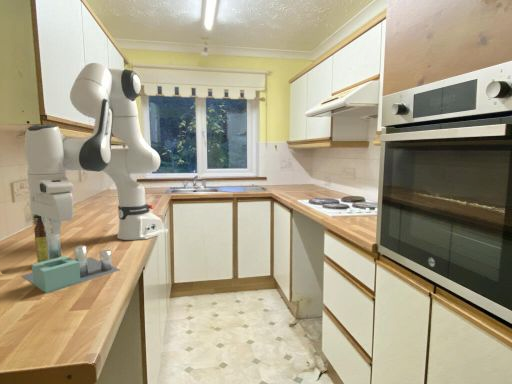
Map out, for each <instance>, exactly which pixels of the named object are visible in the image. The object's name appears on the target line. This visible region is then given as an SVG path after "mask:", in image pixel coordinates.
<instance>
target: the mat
mask: <svg viewBox="0 0 512 384" xmlns="http://www.w3.org/2000/svg"><path fill="white" fill-rule="evenodd" d="M87 263H88V276H86V277H82V278H81V282H79V283H76V284H73V285H70V286H66V287H63V288H60V289H57V290H54V291H51V292H48V293H47V294H49V293H53V292H56V291H59V290H63V289H66V288H69V287H71V286H75V285H77V284H78V285H79V284H81V283H84V282H85V283H86V282H88V281H90V280H94V279H96V278H100V277H103V276H106V275H109V274H113V273H115V272H118V271H121V269H120V268H117V267H114V266H113V265H112V269H111V270H109V271H101V263H100V260H98V259H96V258H93V257H87ZM21 278H23V279H24V280H26V281H27V282H29V283H31V284H32V285H33V286H35V285H34V283H33V274H32V272H31V273H26V274H24V275H21ZM35 287H36V288H38V287H37V286H35Z"/></svg>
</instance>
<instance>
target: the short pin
mask: <svg viewBox="0 0 512 384" xmlns="http://www.w3.org/2000/svg"><path fill="white" fill-rule="evenodd" d="M99 259H100V260H99V261H100V263H101V271H109V270H111V269H112V266H113V264H112V263H113V262H112V251H111V249H103V250H100V251H99Z"/></svg>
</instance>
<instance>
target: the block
mask: <svg viewBox="0 0 512 384" xmlns="http://www.w3.org/2000/svg"><path fill="white" fill-rule="evenodd" d="M31 271H32V272H31V273H32V274H33V283H34V285H33V286H35V287H36V286H37V287H36V288H37V289H39V290H40V291H42V292H44V293H45V294H49V293H48V292H50V293H52V292H51V291H54V290H57V289H60V288H63V287H66V286H69V287H71V286H70V285H72V286H74V285H73V284H75V285H77V284H76V283H78V284H80V283H79V282H81V278H80V266H79V262H78V261H76V260H75V259H73V258H71V257H69V256H67V255H64V256H61V257H59V258H55V259H51V260H47V261H43V262H39V263H38V262H36V263H32V264H31ZM66 288H67V287H66ZM63 289H64V288H63ZM60 290H61V289H60ZM57 291H58V290H57ZM54 292H55V291H54Z"/></svg>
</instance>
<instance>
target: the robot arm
mask: <svg viewBox="0 0 512 384" xmlns="http://www.w3.org/2000/svg"><path fill="white" fill-rule="evenodd" d="M141 91H142V83H141V79H140V76H139V75H138V74H137V72H136V71H134V70H130V69H127V68H125V69H120V68H119V69H117V68H107V67H106V66H105V65H103V64H101V63H96V62H90V63H88V64H86V65H85V66H84V67H83V68H82V69H81V71H80V72H79V73H78V75H77V77H76V78H75V81H74V83H72V87H71V88H70V93H69V100H70V102H71V104H72V106H73V107H74V108H75V109H76V111H77V112H79V113H80V114H82V115H84V117H87V118H91V119H93V120H94V127H93V133H92V134H91V135H89V136H87V137H68V136H66V135H65V134H63V133H62V132H61V131H60V127H59V126H58V125H55V124H35V125H31V126H29V127H27V128H26V130H25V134H24V151H25V152H24V153H25V159H26V162H27V164H28V165H27V166H28V167H27V180H28V181H27V183H28V191H29V205H30V206H29V207H30V211H31V213H32V215H35V216H37V215H39V216H41V219H42V222H43V224H44V229H45V219H44V217H45V218H48V219H51V223H52V228H51V233H52V234H54V235H57V234H61V226H62V222H67V221H72V219H73V217H74V197H73V194H72V192H74V190H75V189H74V184H73V183H72V182H71V181H70V180H69V178H68V177H67V175H66V173H67V172H66V171H86V172H87V171H89V172H99V173H100V172H103V173H105V174H106V175H108V177H110V178H111V180H112V181H113V182H114V183H113V184H115V187H116V190H117V196H118V206H117V208H118V209H117V210H118V212H117V213H118V218H119V224H118V232H117V237H116V238H117V239H119V240H124V241H132V240H148V239H151V238H154V237H157V236H160V235H162V234H166V233H169V228H167V227H164V223H163V220H162V218H161V217H159V216H157V215H155V214H154V213H153V212H152V211H150V210H153V209H154V208H155V206H154V204H151V203H149V204H147V202H146V201H147V200H146V189H145V187H144V185H143V184H141V183H140V182H138V181H135V180H134V179H133V177H132V175H131V174H133V175H134V174H135V175H136V174H139V175H140V174H143V175H144V174H151V173H155V172H157V171H158V169H159V168H160V166H161V157H160V154H159V153H158V152H157V150H155V149H154V148H153V147H151V146H150V145H149V144H148V143H147V142H146V140H145V138H144V136H143V134H142V130H141V125H140V118H139V110H138V105H137V101H136V99H137V98H138V97H139V96H140V93H141ZM112 136H114V138H116V139H118V140H119V141H122V142H123V143H125V145H126V146H127V148H112ZM45 231H46V229H45Z"/></svg>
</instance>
